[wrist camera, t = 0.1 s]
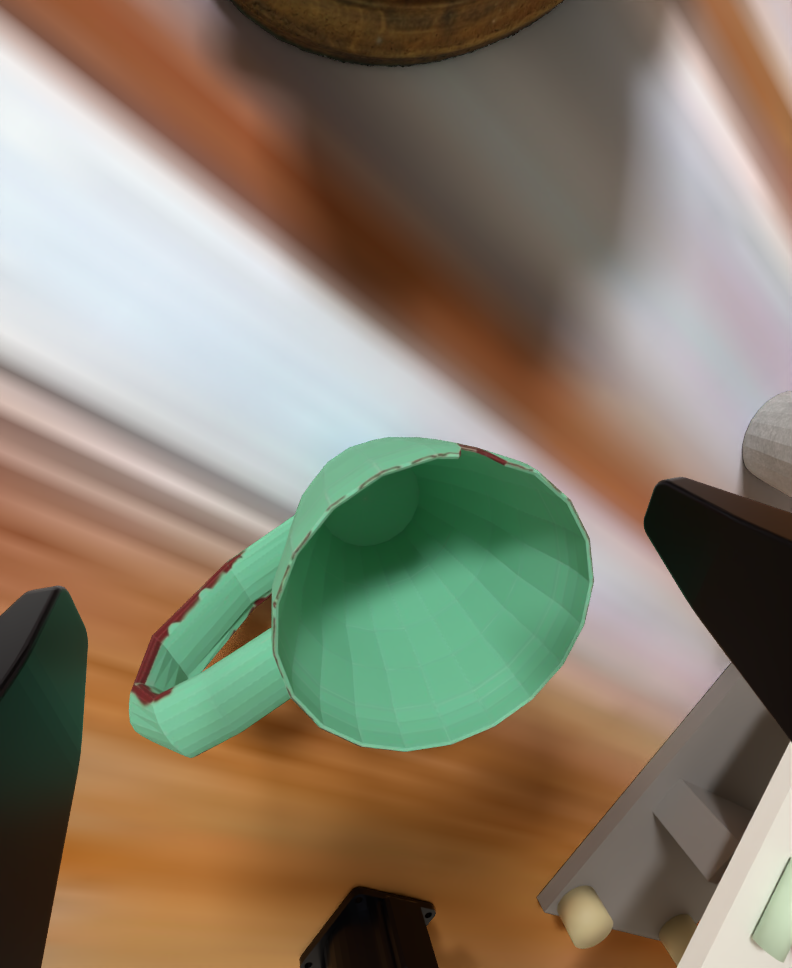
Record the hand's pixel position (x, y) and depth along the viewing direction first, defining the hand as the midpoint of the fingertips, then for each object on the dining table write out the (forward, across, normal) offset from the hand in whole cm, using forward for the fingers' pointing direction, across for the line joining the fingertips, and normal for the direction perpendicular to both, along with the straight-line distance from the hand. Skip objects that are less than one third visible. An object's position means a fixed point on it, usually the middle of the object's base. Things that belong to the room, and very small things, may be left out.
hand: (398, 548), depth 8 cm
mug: (+14, 0, +10) cm, 17 cm away
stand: (+7, -26, +36) cm, 45 cm away
